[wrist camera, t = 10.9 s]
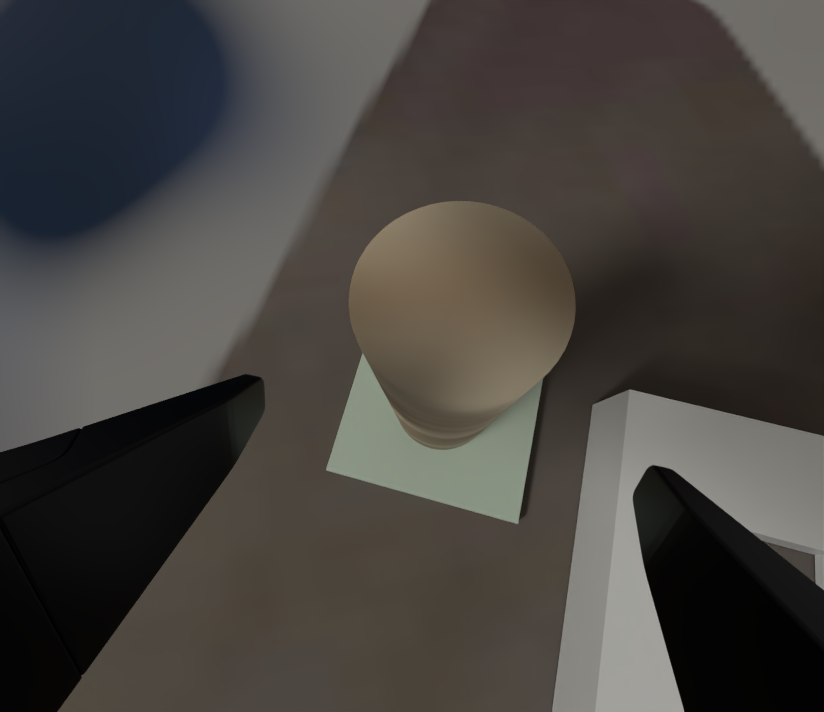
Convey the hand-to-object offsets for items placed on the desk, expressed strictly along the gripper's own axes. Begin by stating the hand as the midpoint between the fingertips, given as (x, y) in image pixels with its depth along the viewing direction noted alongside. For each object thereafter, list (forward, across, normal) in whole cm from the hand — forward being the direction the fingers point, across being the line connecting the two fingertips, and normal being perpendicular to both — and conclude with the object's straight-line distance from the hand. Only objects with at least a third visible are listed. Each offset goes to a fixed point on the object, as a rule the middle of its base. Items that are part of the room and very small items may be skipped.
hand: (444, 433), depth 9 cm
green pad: (+11, 0, +7) cm, 13 cm away
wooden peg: (+10, 0, +6) cm, 12 cm away
